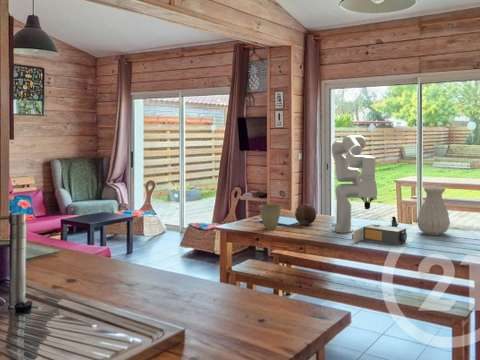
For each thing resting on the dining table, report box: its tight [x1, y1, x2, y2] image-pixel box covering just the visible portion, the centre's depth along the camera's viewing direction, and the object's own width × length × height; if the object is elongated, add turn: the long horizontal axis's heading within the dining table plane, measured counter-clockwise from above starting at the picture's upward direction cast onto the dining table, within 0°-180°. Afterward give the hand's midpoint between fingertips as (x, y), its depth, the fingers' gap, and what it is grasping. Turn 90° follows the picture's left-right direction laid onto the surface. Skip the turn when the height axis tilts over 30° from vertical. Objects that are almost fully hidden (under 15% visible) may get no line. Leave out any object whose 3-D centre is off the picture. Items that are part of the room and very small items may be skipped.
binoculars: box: [390, 216, 399, 227], centre depth 318 cm, size 9×11×10 cm
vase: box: [416, 186, 451, 236], centre depth 315 cm, size 20×20×30 cm
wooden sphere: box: [294, 203, 317, 226], centre depth 347 cm, size 15×15×15 cm
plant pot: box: [259, 204, 282, 231], centre depth 332 cm, size 15×15×16 cm
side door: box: [351, 226, 364, 244], centre depth 294 cm, size 14×2×7 cm, turn 147°
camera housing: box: [362, 223, 408, 246], centre depth 296 cm, size 24×12×9 cm, turn 47°
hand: (367, 208), depth 286 cm, fingers closed
